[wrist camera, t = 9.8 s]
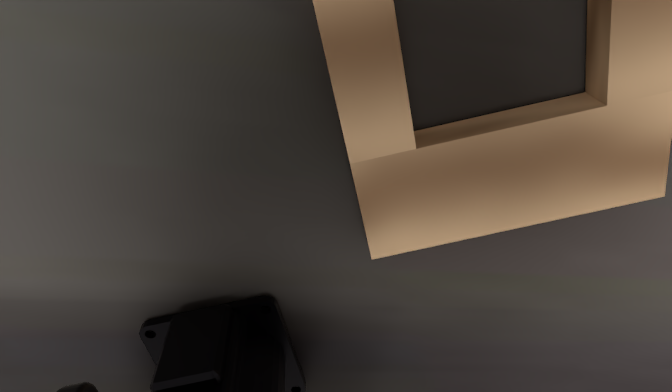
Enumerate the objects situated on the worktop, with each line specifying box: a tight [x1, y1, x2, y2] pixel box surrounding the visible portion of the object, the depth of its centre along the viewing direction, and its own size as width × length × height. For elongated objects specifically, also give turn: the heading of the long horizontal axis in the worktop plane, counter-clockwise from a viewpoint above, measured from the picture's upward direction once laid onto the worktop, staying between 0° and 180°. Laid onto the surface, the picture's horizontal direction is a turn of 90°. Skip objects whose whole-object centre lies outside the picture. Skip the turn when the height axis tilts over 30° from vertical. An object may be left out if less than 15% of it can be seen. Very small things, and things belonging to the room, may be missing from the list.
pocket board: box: [313, 0, 672, 260], centre depth 18 cm, size 16×12×2 cm
